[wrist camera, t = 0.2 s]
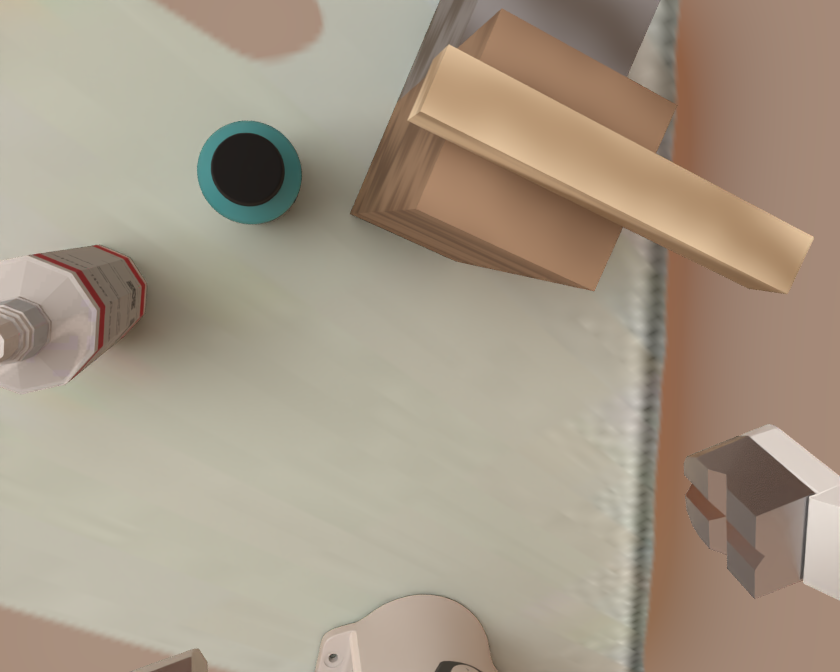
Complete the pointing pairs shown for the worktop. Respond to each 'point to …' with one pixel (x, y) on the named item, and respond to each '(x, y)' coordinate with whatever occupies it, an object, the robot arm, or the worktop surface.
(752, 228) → the rod
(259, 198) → the beverage bottle
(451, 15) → the stepped stand
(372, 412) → the worktop surface
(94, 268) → the spray bottle
